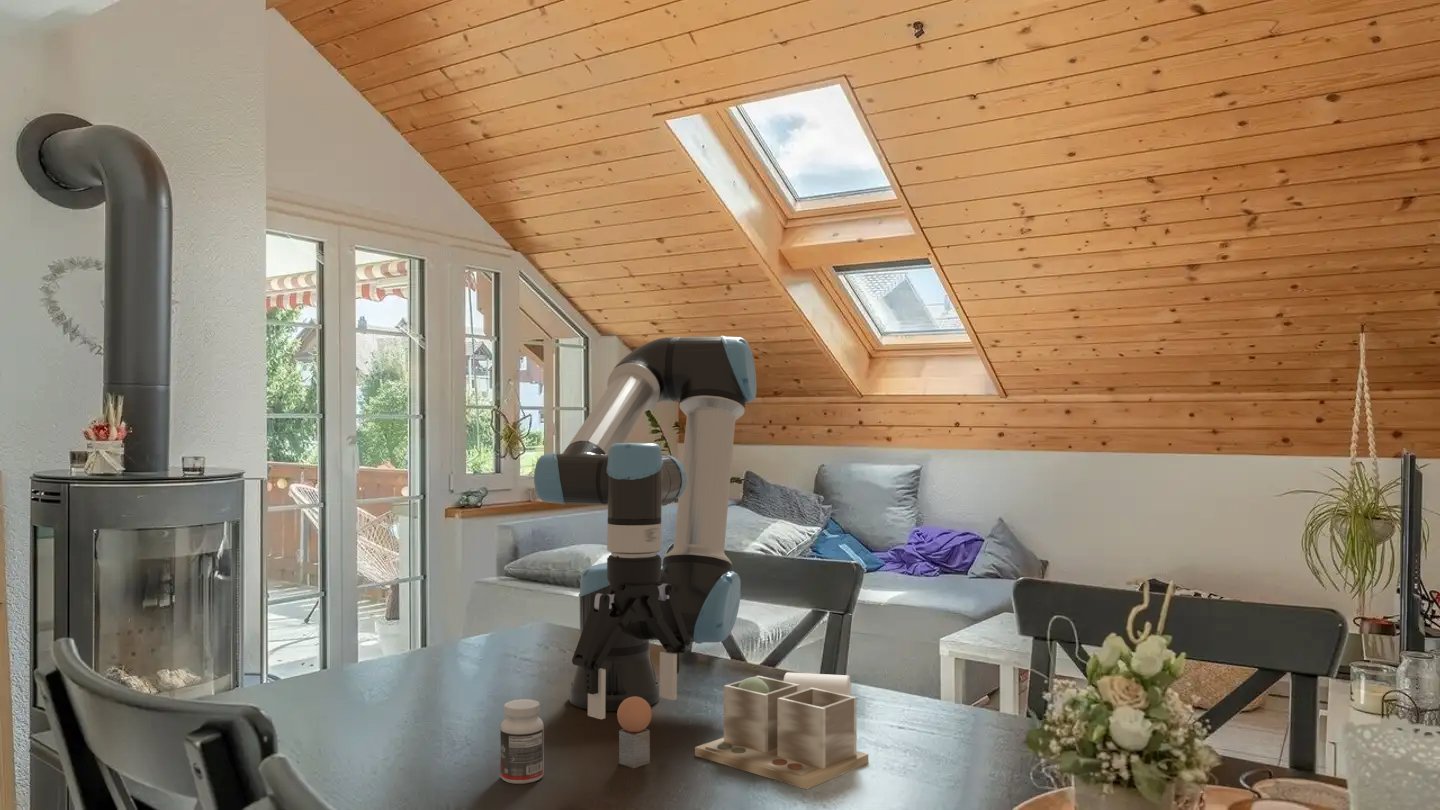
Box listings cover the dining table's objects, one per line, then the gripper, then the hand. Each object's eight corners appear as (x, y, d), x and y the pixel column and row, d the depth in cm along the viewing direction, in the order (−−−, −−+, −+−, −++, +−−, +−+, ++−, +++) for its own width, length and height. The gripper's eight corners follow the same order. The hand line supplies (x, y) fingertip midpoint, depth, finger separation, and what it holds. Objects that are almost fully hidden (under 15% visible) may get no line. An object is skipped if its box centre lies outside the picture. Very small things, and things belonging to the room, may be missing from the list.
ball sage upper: (740, 720, 158) (724, 691, 158) (758, 701, 162) (742, 673, 161) (763, 715, 155) (747, 686, 154) (781, 696, 158) (765, 668, 158)
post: (619, 763, 152) (619, 730, 152) (634, 758, 154) (634, 725, 154) (634, 768, 150) (634, 734, 150) (649, 763, 152) (649, 730, 152)
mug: (846, 735, 165) (846, 682, 165) (781, 731, 167) (781, 679, 167) (853, 713, 176) (853, 664, 176) (791, 709, 178) (791, 661, 178)
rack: (694, 755, 155) (694, 691, 155) (758, 733, 165) (758, 672, 165) (806, 789, 142) (806, 718, 142) (868, 762, 152) (868, 696, 152)
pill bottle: (503, 771, 149) (503, 698, 149) (545, 769, 149) (545, 697, 149) (498, 785, 143) (498, 710, 143) (541, 784, 143) (541, 709, 143)
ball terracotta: (609, 731, 152) (609, 697, 152) (635, 724, 155) (635, 690, 155) (633, 739, 148) (633, 703, 148) (658, 731, 152) (658, 696, 152)
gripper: (583, 564, 140) (582, 731, 139) (714, 548, 158) (714, 695, 158) (546, 559, 145) (545, 720, 145) (677, 544, 163) (677, 686, 163)
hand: (633, 707), depth 151 cm, fingers open, 13 cm apart
